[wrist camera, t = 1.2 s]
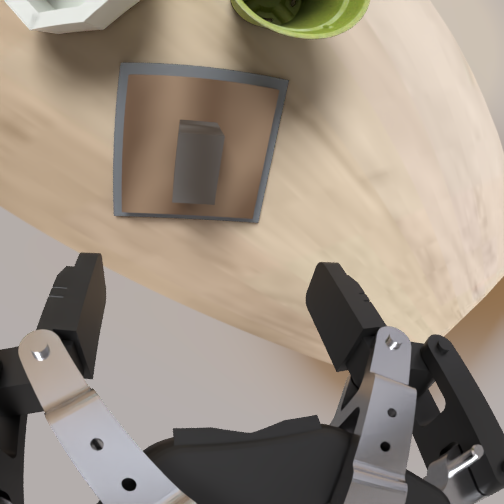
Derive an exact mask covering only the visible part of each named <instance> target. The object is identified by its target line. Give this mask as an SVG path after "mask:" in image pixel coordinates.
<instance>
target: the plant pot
mask: <svg viewBox="0 0 504 504" xmlns="http://www.w3.org/2000/svg"><path fill="white" fill-rule="evenodd" d="M291 2H292V0H231V3H232V6H233V8H234V9H235V11H236V12H237V13H238V14H239V15H240V16H241V17H242V18H243V19H244V20H246V21H247V22H249V23H251V24H254V25H257V26H261V27H266V28H268V29H270V30H272V31H274V32H277V33H279V34H282V35H286V36H290V37H294V38H301V39H323V38H329V37H333V36H336V35H339V34H341V33H343V32H345V31H347V30H349V29H350V28H352V27H353V26H354V25H356V24H357V23H358V22H359V21H360V20H361V19H362V17H363V16H364V14H365V12H366V11H367V9H368V6H369V3H370V0H296V3H295V5H294V6H293V7H292V6H291ZM262 18H272V19H273V20H272V21H271V22H269V21H266V20H264V19H262Z"/></svg>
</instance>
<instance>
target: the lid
mask: <svg viewBox="0 0 504 504" xmlns="http://www.w3.org/2000/svg"><path fill="white" fill-rule="evenodd" d="M278 95H279V90H277V89H273V88H268V87H262V86H256V85H250V84H244V83H237V82H230V81H222V80H214V79H205V78H195V77H183V76H168V75H143V74H130V75H128V84H127V93H126V103H125V115H124V129H123V148H122V212H128V213H154V214H177V215H197V216H215V217H231V218H247V219H253V214H254V209H255V205H256V200H257V195H258V190H259V185H260V180H261V176H262V171H263V166H264V161H265V157H266V152H267V147H268V142H269V137H270V133H271V128H272V123H273V118H274V114H275V109H276V104H277V100H278Z"/></svg>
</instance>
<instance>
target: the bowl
mask: <svg viewBox="0 0 504 504" xmlns="http://www.w3.org/2000/svg"><path fill="white" fill-rule="evenodd" d="M139 1H140V0H5V2H6V3H7V4H8V6H9V7H10V8H11V9H12V10H13V11H14V12H15V14H16V15H17V16H18V17H19V18H20V19H21V20H22V21H23V23H24V24H25V25H26V26H27V27H28V28H29V29H30V30H34V31H42V32H49V33H55V34H62V33H70V32H79V31H91V30H104V29H105V28H106V27H107V26H109V25H110V24H111V23H112V22H113V21H115V20H116V19H117V18H118V17H119V16H121V15H122V14H123V13H124V12H126V11H127V10H128V9H130V8H131V7H132V6H134V5H135V4H136V3H138V2H139Z"/></svg>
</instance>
